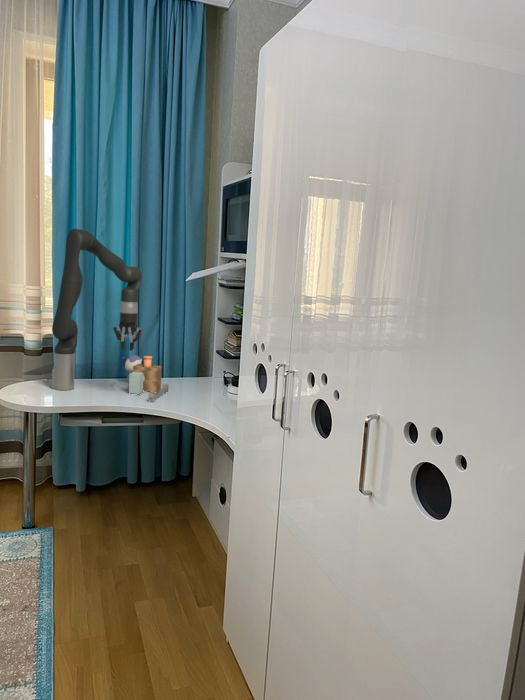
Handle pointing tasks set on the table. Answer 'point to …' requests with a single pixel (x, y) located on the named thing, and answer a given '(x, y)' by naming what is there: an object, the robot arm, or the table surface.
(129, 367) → the toy
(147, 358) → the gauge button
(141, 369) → the end cabinet
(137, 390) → the pale grey rectangular block
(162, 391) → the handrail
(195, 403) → the table surface
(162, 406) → the table surface
